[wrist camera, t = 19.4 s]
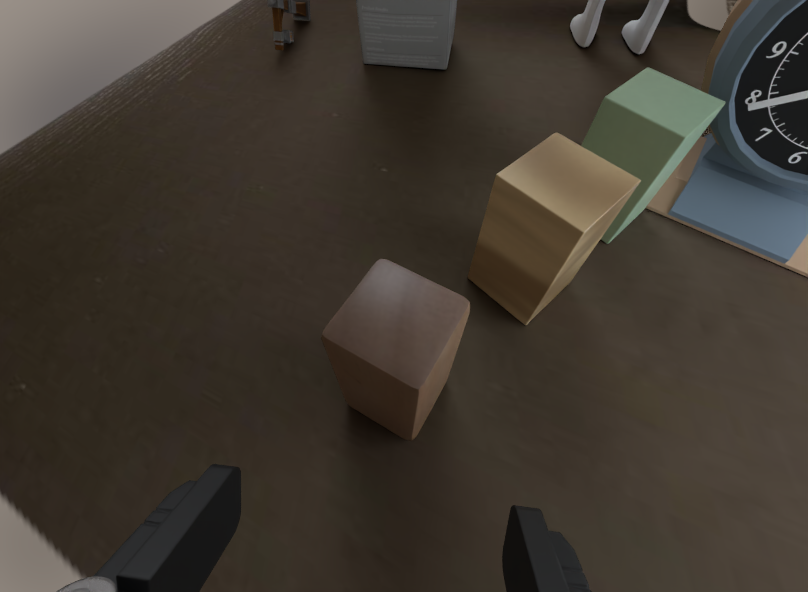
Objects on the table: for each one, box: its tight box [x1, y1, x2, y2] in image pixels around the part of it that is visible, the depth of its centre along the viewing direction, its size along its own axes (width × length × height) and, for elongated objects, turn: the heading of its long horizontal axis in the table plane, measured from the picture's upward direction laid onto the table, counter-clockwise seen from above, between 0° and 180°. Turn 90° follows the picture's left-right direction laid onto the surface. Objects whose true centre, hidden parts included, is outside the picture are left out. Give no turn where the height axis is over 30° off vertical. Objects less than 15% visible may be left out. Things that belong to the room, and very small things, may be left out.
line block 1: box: [468, 132, 641, 325], centre depth 20 cm, size 4×4×8 cm
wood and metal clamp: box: [267, 0, 311, 50], centre depth 37 cm, size 2×8×4 cm, turn 172°
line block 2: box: [581, 67, 726, 244], centre depth 23 cm, size 4×4×8 cm
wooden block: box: [321, 259, 470, 441], centre depth 16 cm, size 4×4×8 cm
